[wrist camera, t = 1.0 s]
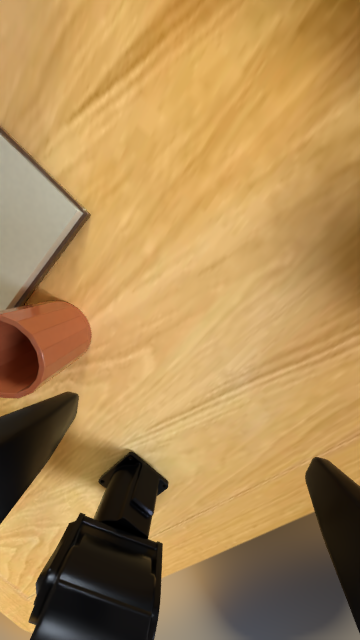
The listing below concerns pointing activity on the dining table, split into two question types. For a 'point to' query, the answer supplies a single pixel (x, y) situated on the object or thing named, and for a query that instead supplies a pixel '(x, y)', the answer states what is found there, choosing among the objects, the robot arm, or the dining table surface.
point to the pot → (39, 344)
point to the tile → (31, 222)
